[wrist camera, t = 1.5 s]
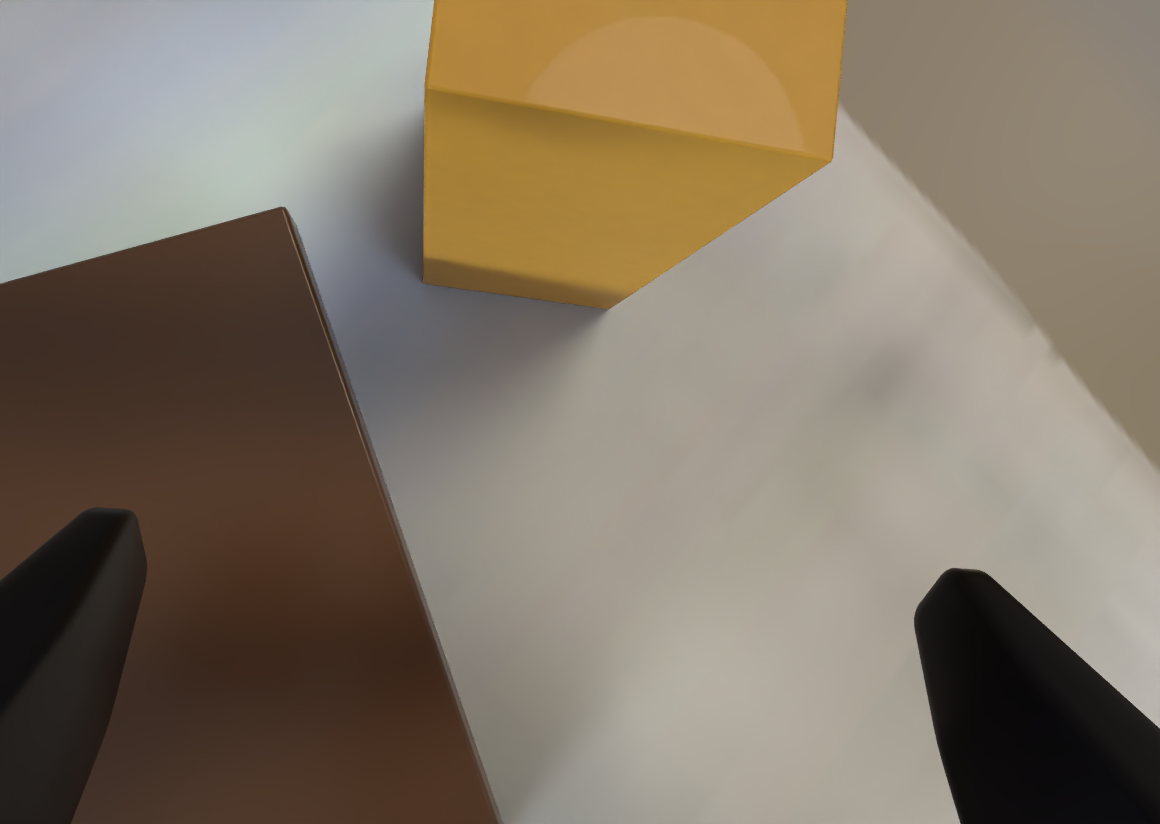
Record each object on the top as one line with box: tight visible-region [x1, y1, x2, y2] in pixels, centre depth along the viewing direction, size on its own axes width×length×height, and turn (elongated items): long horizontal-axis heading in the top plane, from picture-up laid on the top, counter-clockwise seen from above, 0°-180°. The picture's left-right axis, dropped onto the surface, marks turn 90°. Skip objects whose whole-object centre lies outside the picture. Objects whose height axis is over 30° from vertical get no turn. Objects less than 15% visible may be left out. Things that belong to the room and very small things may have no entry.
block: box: [423, 0, 847, 309], centre depth 16 cm, size 5×5×12 cm
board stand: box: [0, 207, 503, 824], centre depth 18 cm, size 18×14×4 cm
